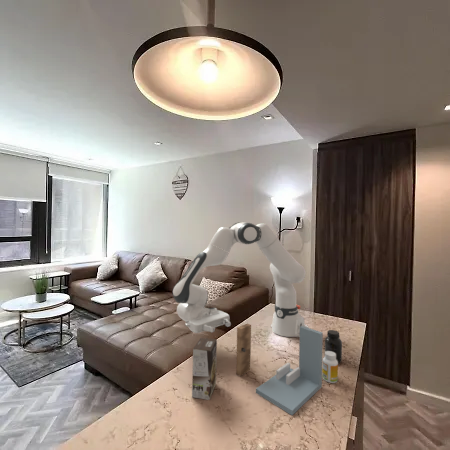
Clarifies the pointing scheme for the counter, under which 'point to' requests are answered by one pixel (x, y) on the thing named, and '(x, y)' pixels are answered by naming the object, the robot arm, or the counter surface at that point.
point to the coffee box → (204, 368)
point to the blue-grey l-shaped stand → (297, 375)
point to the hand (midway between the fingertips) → (221, 327)
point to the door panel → (243, 349)
